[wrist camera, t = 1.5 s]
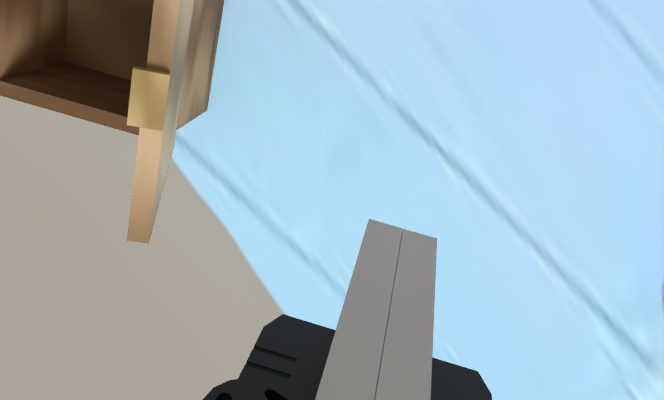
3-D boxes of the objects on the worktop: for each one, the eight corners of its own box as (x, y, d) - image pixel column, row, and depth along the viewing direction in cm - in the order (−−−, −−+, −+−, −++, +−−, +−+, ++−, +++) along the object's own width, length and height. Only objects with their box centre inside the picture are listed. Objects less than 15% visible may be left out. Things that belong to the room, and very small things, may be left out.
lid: (148, -84, 19) (188, -74, 19) (178, -90, 28) (205, -83, 28) (114, 242, 23) (147, 247, 23) (150, 144, 33) (173, 147, 33)
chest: (66, -121, 35) (-19, -137, 29) (236, -77, 35) (187, -83, 28) (56, 67, 40) (-19, 89, 33) (206, 110, 39) (159, 141, 33)
